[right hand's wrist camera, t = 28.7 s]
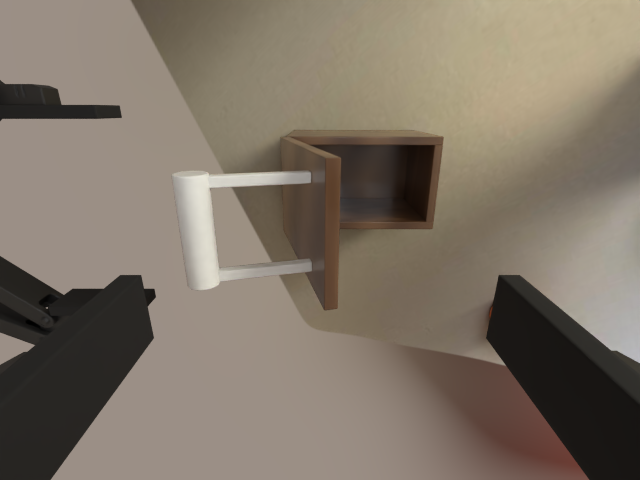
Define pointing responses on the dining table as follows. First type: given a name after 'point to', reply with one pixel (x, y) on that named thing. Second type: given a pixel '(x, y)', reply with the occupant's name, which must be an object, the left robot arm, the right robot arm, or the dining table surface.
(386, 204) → the chest
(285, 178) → the lid
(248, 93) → the dining table surface
